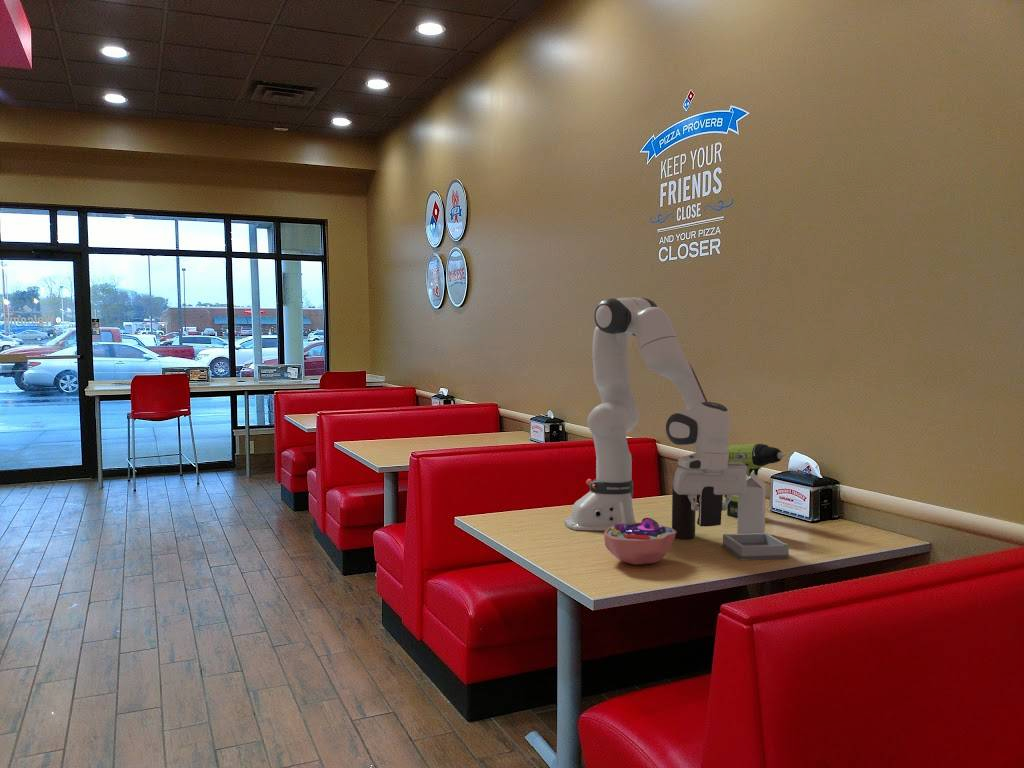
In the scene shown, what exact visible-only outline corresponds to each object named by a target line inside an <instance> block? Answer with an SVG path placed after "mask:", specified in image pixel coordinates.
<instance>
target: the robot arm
mask: <svg viewBox="0 0 1024 768" xmlns="http://www.w3.org/2000/svg"><path fill="white" fill-rule="evenodd" d="M593 316H594V317H593V318H594V322H595V325H596V326H595V328H594V330H593V337H592V351H591V352H592V353H591V354H592V368H593V383H594V385H595V387H596V389H597V390H598V393H599V397H600V401H601V403H599V404H598V405H596V406H595V407H594V408H592V410H591V411H590V413H588V416H587V420H586V421H587V423H586V424H587V427H588V429H589V431H590V433H591V434H592V438H593V439H592V440H593V444H594V449H595V457H596V460H595V461H596V462H595V463H596V464H595V465H596V466H595V467H596V468H595V471H596V472H595V474H596V477H595V479H593V480H592V478H588V479H587V480H586V482H585V484H586V485H587V486H588V487H589V491H588V492H587V493H586V494H584V495H583V496H581V498H579V499H577V500H576V501H575V502H574V504H573V506H572V510H571V516H567V517H565V518H564V525H565V526H566V527H567V528H568V529H571V530H573V531H597V532H598V531H600V532H601V531H603V532H605V531H606V530H607V529H608V528H610V527H612V526H614V525H615V524H623V523H637V521H636V518H635V513H634V508H633V497H634V496H633V495H634V480H633V479H632V472H633V471H632V467H633V465H632V461H633V458H632V453H631V452H630V449H629V445H628V439H627V434H628V433H630V432H631V431H633V430H634V428H636V426H637V425H638V424H639V421H640V418H641V417H640V415H641V414H640V411H639V408H638V407H637V405H636V401H635V397H634V393H633V389H632V385H631V380H630V379H631V378H630V366H629V354H628V353H629V351H628V350H629V349H628V341H629V338H630V337H631V336H632V335H633V336H634V337H635V338H636V339H637V342H638V346H639V349H640V352H641V356H642V359H643V361H644V363H645V365H646V366H647V368H648V369H649V370H650V371H651V372H653V373H654V374H657V375H658V376H661V377H664V378H666V379H667V380H668V381H670V382H672V383H673V384H674V385H675V386H676V387H677V388H678V391H679V393H680V396H681V398H682V400H683V402H684V405H685V406H686V409H687V410H683V411H678V412H676V413H673V414H671V415H670V416H669V417H668V418H667V420H666V423H665V434H666V436H667V439H669V441H670V442H671V443H672V444H674V445H678V446H693V445H694V447H695V452H693V453H691V454H687V455H685V456H681V457H679V458H678V460H677V463H678V465H679V466H678V467H677V468H676V469H677V470H676V469H675V472H674V476H673V477H674V478H673V484H672V487H673V489H674V491H675V492H676V493H677V494H679V495H688V498H689V500H690V502H691V509H692V510H693V511H699V504H698V503H695V502H694V500H693V499H695V495H700V494H701V490H702V489H703V487H707V486H711V487H714V494H715V495H723V498H724V499H723V503H722V512H725V511H726V512H727V505H728V504H729V502H730V501H731V499H732V495H744V494H745V493H746V492H747V480H746V475H747V466H746V464H744V463H743V462H740V461H738V462H733V461H728V454H729V453H728V452H729V450H728V447H729V446H728V445H729V443H728V442H729V439H730V434H731V433H730V431H731V418H730V413H729V409H728V407H726V406H725V405H723V404H721V403H719V402H718V403H717V402H712V401H708V399H707V397H706V395H705V393H704V391H703V389H702V386H701V384H700V381H699V379H698V377H697V375H696V373H695V371H694V369H693V367H692V365H691V364H690V362H689V360H688V359H687V358H686V355H685V354H684V352H683V350H682V348H681V345H680V342H679V340H678V338H677V335H676V331H675V329H674V326H673V324H672V322H671V320H670V318H669V317H668V315H667V313H666V311H665V310H664V309H663V308H661V307H658V306H657V304H656V303H655V302H654V301H653V300H652V299H649V298H646V297H635V296H634V297H633V296H632V297H630V296H625V297H619V298H618V297H617V298H614V297H611V298H607V299H604V300H602V301H600V302H599V303H598V304H597V306H596V307H595V310H594V315H593Z"/></svg>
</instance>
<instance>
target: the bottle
mask: <svg viewBox="0 0 1024 768" xmlns="http://www.w3.org/2000/svg"><path fill="white" fill-rule="evenodd" d="M676 470H677V468H676V469H675V471H676ZM671 488H672V492H671V493H672V494H671V495H672V497H671V498H672V500H671V528H672V529H674V530H676V535H675V538H674V539H679V540H692V539H694V538H695V537H696V513H697V512H696V511H693V510H692V509H691V502H690V500H689V498H688V495H679V494H677V493H676V492H675V491H674V489H673V486H672V487H671ZM693 500H694V502H695V503H696V495H695V499H693Z"/></svg>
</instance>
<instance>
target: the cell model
mask: <svg viewBox="0 0 1024 768" xmlns="http://www.w3.org/2000/svg"><path fill="white" fill-rule="evenodd" d="M675 535H676V530H674V529H672V527H669V526H664V525H661V524H659V523H658V522H657V521H656V520H655V519H653V518H651V517H644V518H642V520H641V522H636V523H623V524H615V525H614V526H612V527H610V528H608V529H607V530H606V531H603V537H604V538H603V540H604V546H605V548H606V549H607V551H609V553H611V554H612V555H613V556H614V557H615V558H616V559H618V560H619V561H621V562H624V563H628V564H631V565H638V566H639V565H643V564H645V565H648V564H656V563H658V562H660V561H661V560H662V559H663V558H664V557H665V556H666V555H667V554H668V552H669V551H670V550H671V548H672V547H673V544H674V541H675V539H676V538H675Z"/></svg>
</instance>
